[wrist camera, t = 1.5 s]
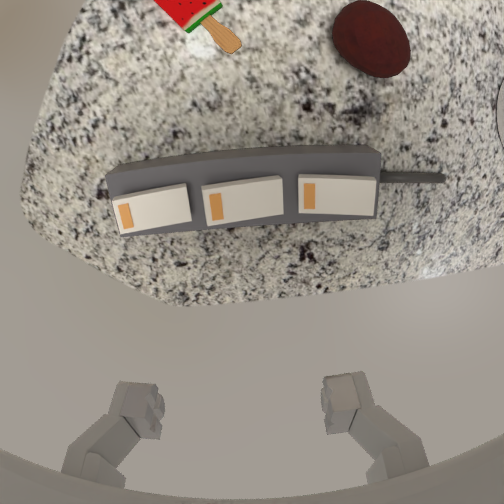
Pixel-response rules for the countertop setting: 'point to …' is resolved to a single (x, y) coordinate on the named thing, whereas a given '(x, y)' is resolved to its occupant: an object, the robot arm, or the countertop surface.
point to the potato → (371, 39)
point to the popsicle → (201, 20)
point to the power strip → (255, 166)
